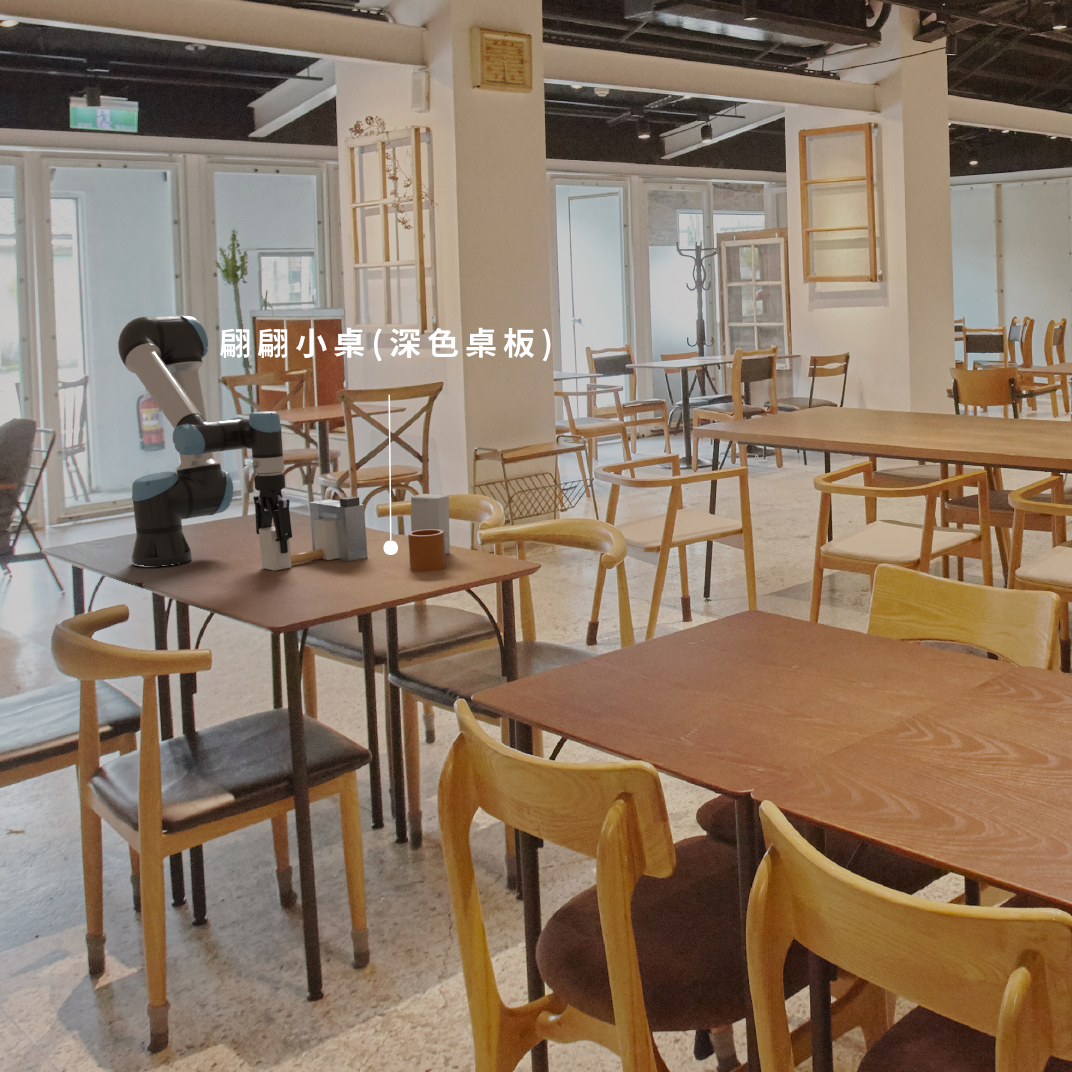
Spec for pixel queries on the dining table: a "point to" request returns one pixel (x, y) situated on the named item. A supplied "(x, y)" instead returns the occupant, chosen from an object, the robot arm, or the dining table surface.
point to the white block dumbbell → (323, 550)
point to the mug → (427, 550)
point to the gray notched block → (344, 525)
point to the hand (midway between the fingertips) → (276, 563)
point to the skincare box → (431, 514)
